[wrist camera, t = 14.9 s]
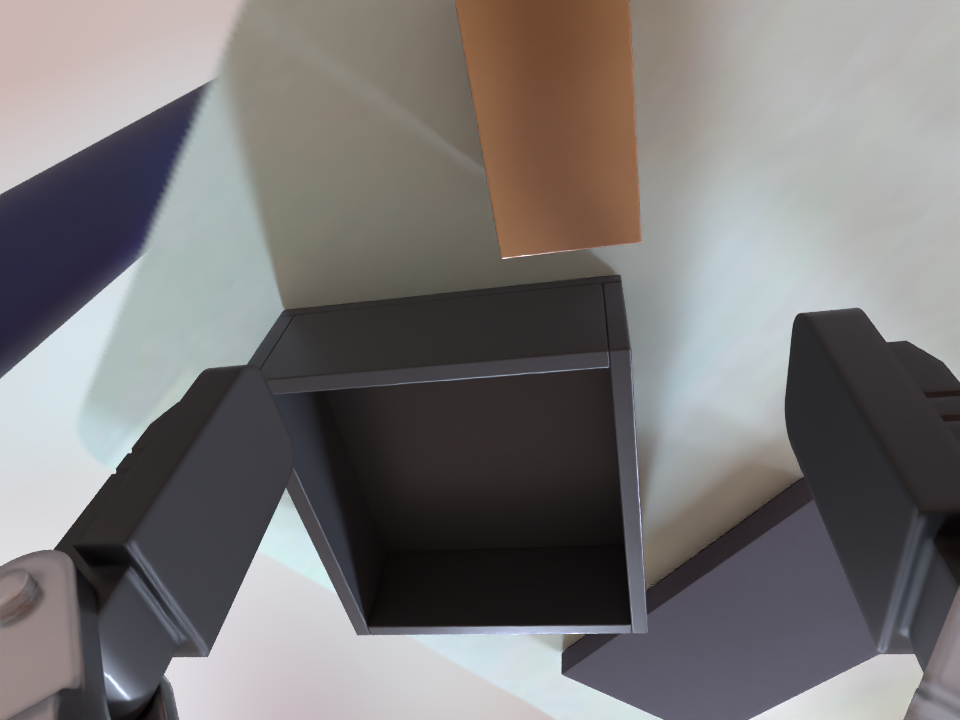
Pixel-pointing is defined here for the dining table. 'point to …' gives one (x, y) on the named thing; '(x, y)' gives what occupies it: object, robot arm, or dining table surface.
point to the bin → (468, 457)
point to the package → (555, 120)
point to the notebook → (737, 624)
